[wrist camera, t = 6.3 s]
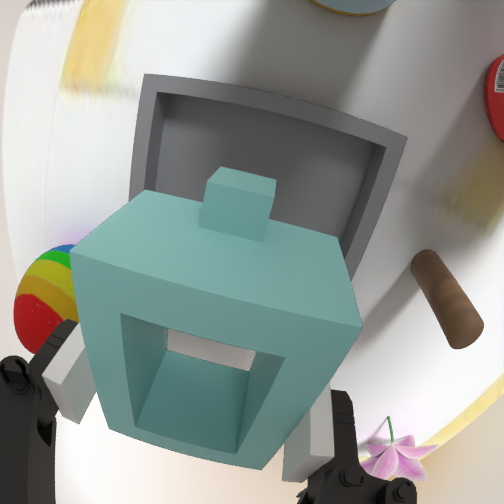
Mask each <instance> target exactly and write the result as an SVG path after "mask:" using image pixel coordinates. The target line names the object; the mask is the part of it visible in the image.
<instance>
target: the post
mask: <svg viewBox="0 0 504 504" xmlns="http://www.w3.org/2000/svg"><path fill="white" fill-rule="evenodd" d="M411 271H412V273H413V275H414V277H415V278H416V280H417V282H418V284H419V286H420V287H421V289H422V291H423V293H424V295H425V297H426V298H427V300H428V302H429V304H430V306H431V308H432V310H433V312H434V314H435V316H436V318H437V320H438V322H439V324H440V326H441V328H442V330H443V332H444V334H445V336H446V338H447V340H448V343H449V345H450V346H451V347H452V348H453V349H462V348H465V347H467V346H469V345H471V344H472V343H473V342H475V341H476V340H477V339H478V337H479V336H480V335H481V333H482V331H483V328H484V322H483V320H482V319H481V317H480V316H479V314H478V312H477V311H476V309H475V308H474V306H473V305H472V303H471V302H470V300H469V298H468V297H467V295H466V294H465V292H464V291H463V290H462V288H461V287H460V285H459V284H458V282H457V281H456V279H455V278H454V277H453V275H452V274H451V272H450V271H449V270H448V268H447V267H446V266H445V264H444V263H443V261H442V260H441V259H440V257H439V256H438V255H437V254H436V252H434V251H433V250H423V251H421V252H419V253H418V254H417V255H416V256H415V257H414V258H413V260H412V263H411Z"/></svg>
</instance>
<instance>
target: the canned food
mask: <svg viewBox="0 0 504 504" xmlns="http://www.w3.org/2000/svg"><path fill="white" fill-rule="evenodd" d="M485 105H486V110H487V114H488V117H489V120H490V123H491V126H492V128H493V130H494V132H495V133H496V135H497V136H498V138H499V139H500V140H501V141H502V142H503V143H504V54H503V55H501V56H500V57H498V58H497V59H496V60H495V61H494V62H493V63H492V64H491V66H490V68H489V69H488V72H487V75H486V80H485Z"/></svg>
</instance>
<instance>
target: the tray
mask: <svg viewBox="0 0 504 504" xmlns="http://www.w3.org/2000/svg"><path fill="white" fill-rule="evenodd" d="M406 140H407V137H406V136H403V135H401V134H399V133H396V132H394V131H391V130H389V129H386V128H384V127H381V126H378V125H376V124H373V123H370V122H368V121H365V120H362V119H359V118H356V117H354V116H351V115H348V114H345V113H342V112H339V111H335V110H332V109H329V108H326V107H322V106H319V105H316V104H312V103H309V102H305V101H302V100H298V99H294V98H290V97H286V96H282V95H278V94H274V93H270V92H265V91H261V90H256V89H252V88H247V87H242V86H236V85H231V84H225V83H219V82H213V81H207V80H200V79H193V78H185V77H176V76H167V75H156V74H144V78H143V84H142V89H141V95H140V101H139V108H138V114H137V121H136V129H135V137H134V145H133V155H132V165H131V176H130V190H129V202H130V201H131V200H132V199H133V198H135V197H136V196H137V195H139V194H140V193H141V192H143V191H144V190H150V191H154V192H159V193H163V194H168V195H172V196H176V197H181V198H185V199H189V200H194V201H198V202H202V203H203V201H204V195H205V190H206V184H207V181H208V180H209V179H210V178H211V176H212V175H213V174H214V173H215V172H216V171H217V170H218V169H219V168H220V167H226V168H230V169H234V170H239V171H243V172H247V173H251V174H255V175H259V176H263V177H267V178H271V179H275V180H277V181H276V188H275V196H274V201H273V204H272V208H271V212H270V215H269V219H271V220H275V221H279V222H283V223H287V224H290V225H294V226H298V227H302V228H305V229H309V230H313V231H317V232H320V233H324V234H328V235H331V236H335V237H337V238H338V241H339V245H340V248H341V251H342V254H343V257H344V261H345V264H346V268H347V271H348V274H349V278H350V281H351V280H352V278H353V276H354V274H355V272H356V269H357V267H358V265H359V263H360V261H361V258H362V256H363V254H364V251H365V249H366V247H367V244H368V242H369V240H370V237H371V235H372V233H373V230H374V228H375V225H376V223H377V220H378V218H379V215H380V213H381V210H382V208H383V205H384V203H385V200H386V197H387V195H388V192H389V189H390V187H391V184H392V181H393V179H394V176H395V173H396V170H397V167H398V164H399V161H400V159H401V156H402V153H403V150H404V146H405V143H406Z"/></svg>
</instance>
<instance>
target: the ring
mask: <svg viewBox="0 0 504 504" xmlns="http://www.w3.org/2000/svg"><path fill="white" fill-rule="evenodd" d="M276 181H277V180H275V179H271V178H267V177H263V176H259V175H255V174H251V173H247V172H243V171H239V170H234V169H230V168H226V167H220V168H219V169H218V170H217V171H216V172H215V173H214V174H213V175H212V176H211V178H210V179H209V180H208V181H207V184H206V190H205V195H204V201H203V203H202V202H198V201H194V200H189V199H185V198H181V197H176V196H172V195H168V194H163V193H159V192H154V191H150V190H144V191H143V192H141V193H140V194H139V195H137V196H136V197H135V198H133V199H132V200H131V201H130V202H128V203H127V204H126V205H124V206H123V207H122V208H120V209H119V210H118V211H117V212H115V213H114V214H113V215H112V216H110V217H109V218H108V219H107V220H105V221H104V222H103V223H102V224H100V225H99V226H98V227H97V228H96V229H94V230H93V231H92V232H91V233H90V234H88V235H87V236H86V237H85V238H84V239H82V240H81V241H80V242H79V243H78V244H77V245H75V246H74V247H73V248H72V249H71V250H70V251H69V253H70V262H71V271H72V278H73V286H74V292H75V299H76V305H77V310H78V316H79V321H80V326H81V331H82V336H83V340H84V345H85V347H86V351H87V355H88V359H89V363H90V367H91V371H92V375H93V378H94V382H95V385H96V389H97V394H98V397H99V400H100V403H101V407H102V410H103V413H104V416H105V418H106V421H107V424H108V427H109V429H111V430H113V431H116V432H119V433H121V434H124V435H126V436H129V437H132V438H135V439H137V440H140V441H143V442H146V443H149V444H152V445H155V446H158V447H162V448H165V449H168V450H171V451H175V452H179V453H182V454H186V455H189V456H194V457H197V458H201V459H206V460H210V461H215V462H219V463H224V464H229V465H235V466H240V467H245V468H251V469H258V470H262V469H263V467H264V466H265V465H266V464H267V463H268V462H269V461H270V460H271V458H272V457H273V456H274V455H275V454H276V452H277V451H278V450H279V449H280V447H281V446H282V445H283V444H284V442H285V440H286V439H287V438H288V436H289V435H290V434H291V433H292V431H293V430H294V429H295V427H296V426H297V425H298V423H299V422H300V421H301V419H302V418H303V417H304V415H305V414H306V413H307V411H308V410H309V408H310V407H312V406H313V404H314V403H315V401H316V400H317V398H318V397H319V396H320V394H321V393H322V391H323V390H324V388H325V387H326V385H327V384H328V383H329V381H330V380H331V378H332V377H333V375H334V373H335V372H336V370H337V369H338V367H339V366H340V364H341V363H342V361H343V360H344V358H345V356H346V355H347V353H348V352H349V350H350V348H351V347H352V345H353V343H354V342H355V340H356V338H357V337H358V335H359V333H360V332H361V330H362V328H363V326H362V322H361V318H360V314H359V310H358V307H357V303H356V299H355V296H354V292H353V288H352V285H351V281H350V278H349V274H348V271H347V268H346V264H345V261H344V257H343V254H342V251H341V248H340V245H339V241H338V238H337V237H335V236H331V235H328V234H324V233H320V232H317V231H313V230H309V229H305V228H302V227H298V226H294V225H290V224H287V223H283V222H279V221H275V220H271V219H269V215H270V212H271V208H272V204H273V201H274V196H275V188H276ZM168 328H170V329H173V330H177V331H180V332H184V333H187V334H191V335H194V336H198V337H202V338H205V339H209V340H213V341H217V342H221V343H225V344H229V345H233V346H237V347H241V348H245V349H249V350H254V351H257V352H256V355H255V357H254V360H253V363H252V366H251V368H250V371H245V370H241V369H236V368H232V367H228V366H224V365H220V364H216V363H212V362H208V361H204V360H201V359H197V358H193V357H190V356H186V355H183V354H179V353H176V352H172V351H169V350H167V337H168Z"/></svg>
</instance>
